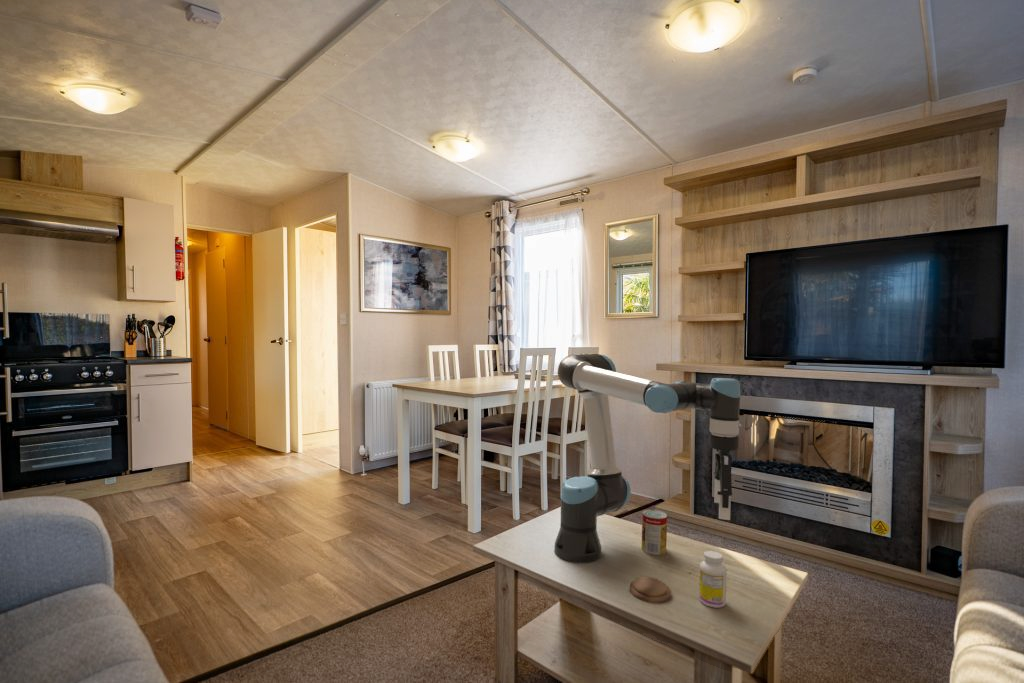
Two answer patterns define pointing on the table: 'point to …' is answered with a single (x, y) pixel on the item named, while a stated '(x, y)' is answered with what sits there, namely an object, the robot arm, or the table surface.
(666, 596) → the plinth
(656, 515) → the canned food
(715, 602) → the supplement bottle
